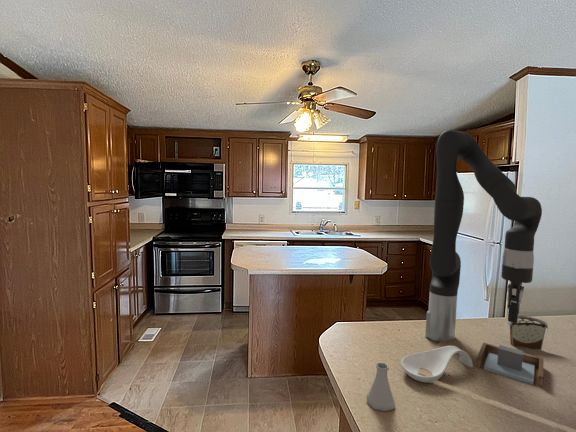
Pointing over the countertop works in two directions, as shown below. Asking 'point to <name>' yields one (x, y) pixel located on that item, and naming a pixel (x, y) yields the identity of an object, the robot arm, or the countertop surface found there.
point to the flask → (381, 390)
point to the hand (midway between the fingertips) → (513, 317)
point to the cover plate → (509, 371)
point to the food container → (527, 332)
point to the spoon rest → (432, 362)
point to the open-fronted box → (526, 358)
